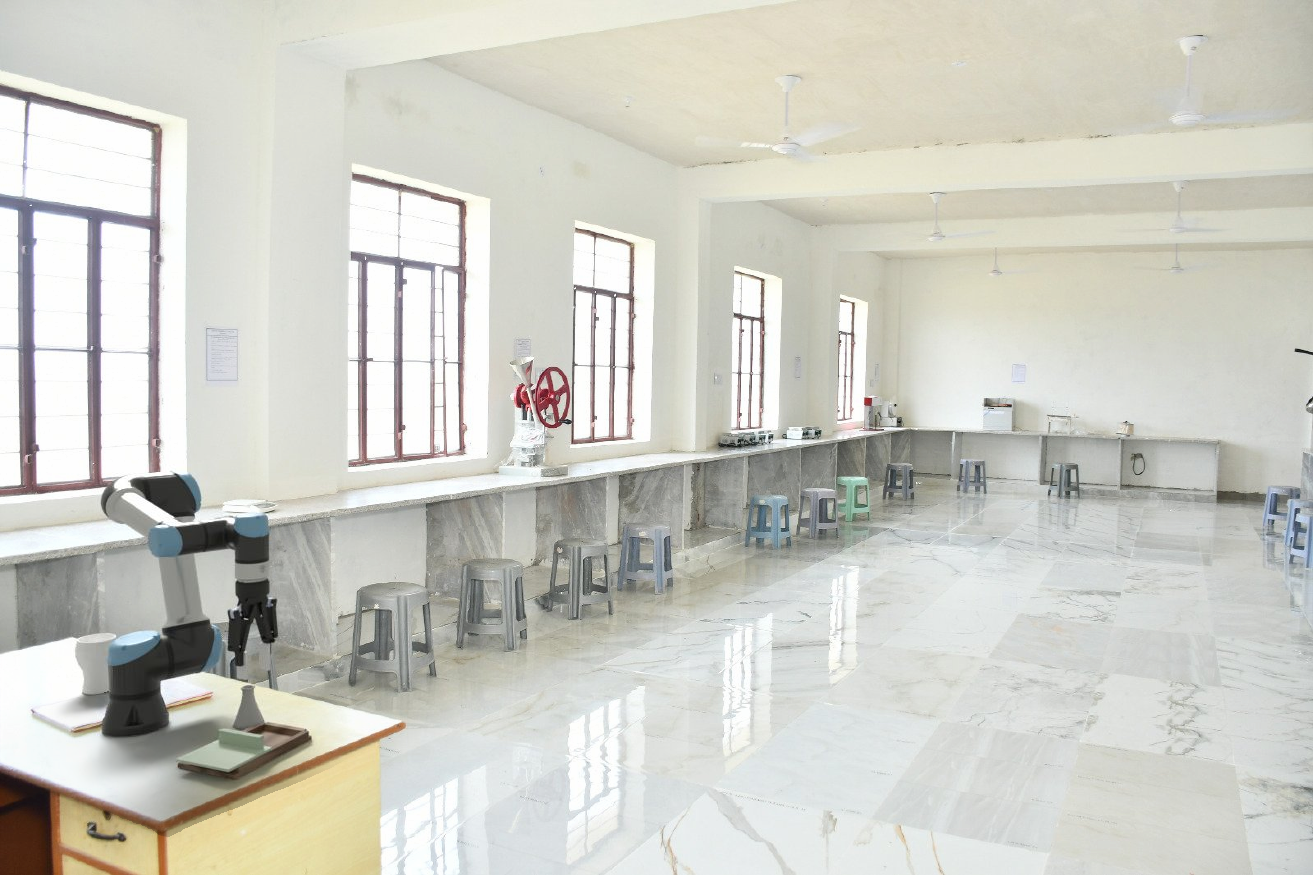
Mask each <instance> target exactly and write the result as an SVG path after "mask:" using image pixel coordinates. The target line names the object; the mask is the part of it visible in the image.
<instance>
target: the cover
mask: <svg viewBox="0 0 1313 875" xmlns="http://www.w3.org/2000/svg"><path fill="white" fill-rule="evenodd" d="M242 731H243V730H242ZM242 731H240V730H237V729H236V730H235V729H231V728H226V727H223V728H220V729H218V732H217V733H218V739H216V740H214V741H212V742H210V743H207V744H206V745H204V746H201V747H199V748H197V749H194V750H193V751H191V752H188V753H186V754H184V755H181V756H180V757H178V758H176V762H177V763H179V762H181V763H186V764H191V765H196V766H201V767H206V768H211V769H215V770H220V771H225V772H230V771H232V770H234V769H236V768H238V767H240V766H241V765H243V764H245V763H247V762H249V761H251V760H253V759H255V758H257V757H259V756H261V755H263V754H265V753H267V752H269V751H271V750H272V747H267V746H264V735H258V734H253V733H248V732H242Z"/></svg>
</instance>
